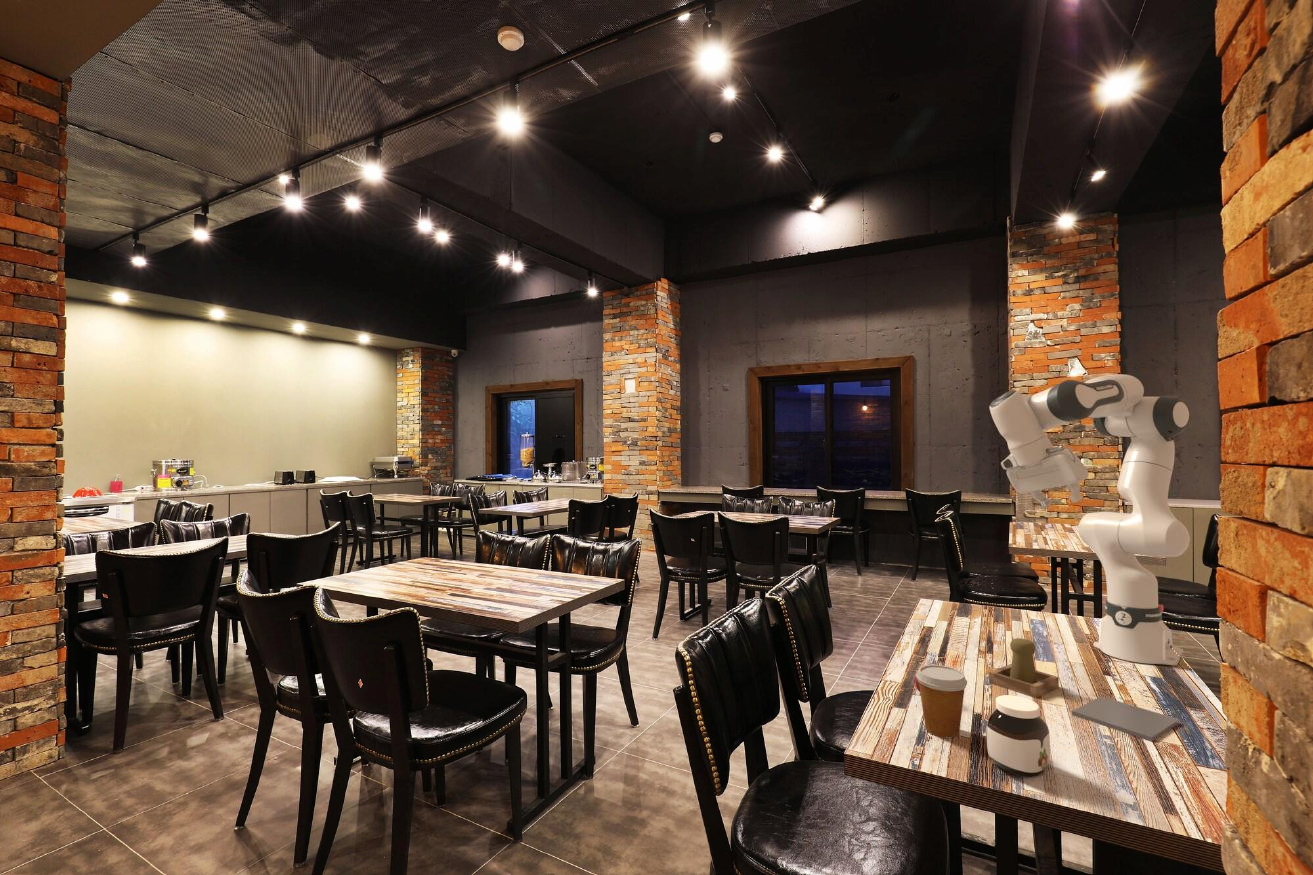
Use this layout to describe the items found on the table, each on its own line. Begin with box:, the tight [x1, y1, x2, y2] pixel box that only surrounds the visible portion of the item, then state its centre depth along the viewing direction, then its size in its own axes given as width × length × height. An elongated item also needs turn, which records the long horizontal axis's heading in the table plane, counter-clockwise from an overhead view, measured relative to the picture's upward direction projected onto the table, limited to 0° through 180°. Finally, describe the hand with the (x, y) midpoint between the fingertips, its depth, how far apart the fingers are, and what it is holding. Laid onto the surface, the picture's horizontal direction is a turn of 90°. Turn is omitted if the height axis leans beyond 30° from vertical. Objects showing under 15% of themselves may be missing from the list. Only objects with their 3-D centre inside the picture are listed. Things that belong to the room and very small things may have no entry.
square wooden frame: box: [988, 663, 1060, 699], centre depth 145 cm, size 11×11×2 cm
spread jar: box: [985, 694, 1051, 778], centre depth 111 cm, size 12×11×12 cm
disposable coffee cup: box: [915, 664, 968, 739], centre depth 123 cm, size 10×10×12 cm
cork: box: [1009, 637, 1037, 684], centre depth 145 cm, size 6×6×11 cm
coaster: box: [1071, 695, 1180, 742], centre depth 127 cm, size 14×14×1 cm
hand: (1062, 503), depth 147 cm, fingers open, 8 cm apart
